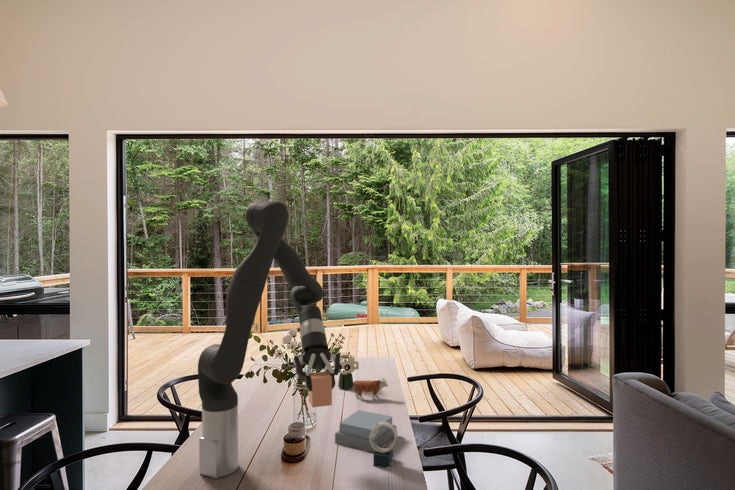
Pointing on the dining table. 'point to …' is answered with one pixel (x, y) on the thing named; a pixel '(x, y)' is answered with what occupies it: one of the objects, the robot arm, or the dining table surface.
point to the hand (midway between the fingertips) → (321, 388)
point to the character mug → (347, 371)
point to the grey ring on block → (382, 453)
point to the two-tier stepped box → (363, 430)
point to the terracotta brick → (321, 389)
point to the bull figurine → (369, 387)
